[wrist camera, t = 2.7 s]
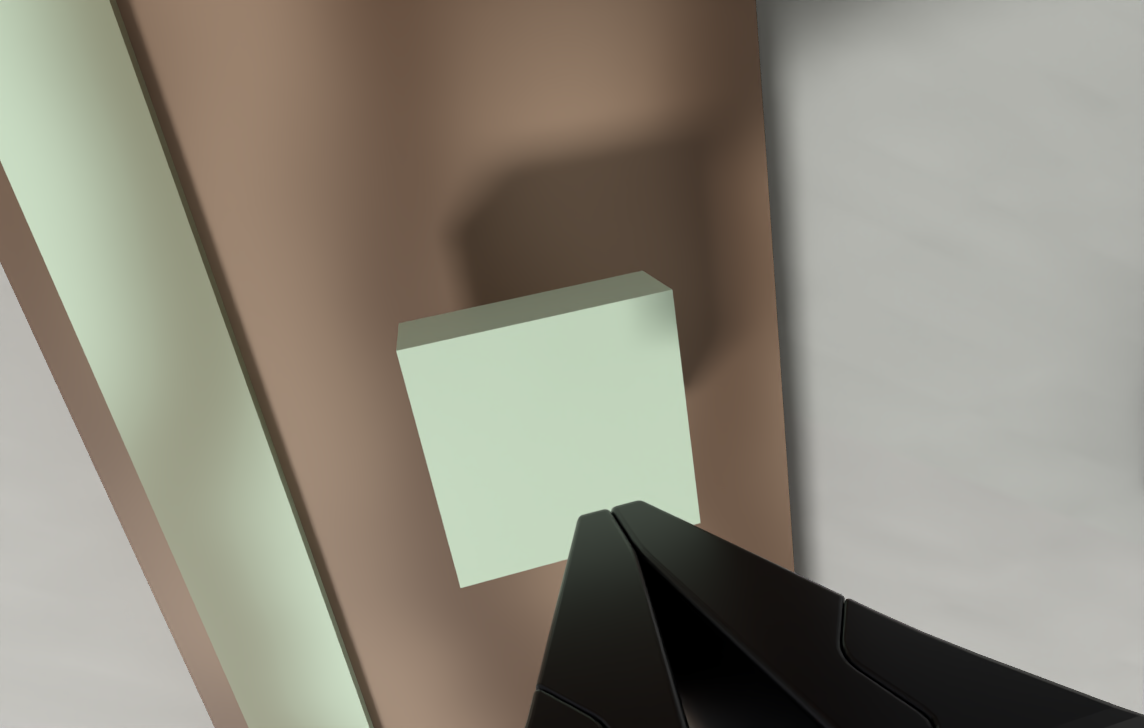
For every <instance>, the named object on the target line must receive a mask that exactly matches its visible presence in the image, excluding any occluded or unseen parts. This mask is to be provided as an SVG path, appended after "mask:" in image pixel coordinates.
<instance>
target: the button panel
mask: <svg viewBox="0 0 1144 728" xmlns="http://www.w3.org/2000/svg"><path fill="white" fill-rule="evenodd" d="M0 262H1V264H2V267H3V269H4V271H5V273H6V275H7V277H8V280H9V282H10V284H11V286H12V288H13V290H14V293H15V295H16V297H17V299H18V301H19V304H20V306H21V308H22V310H23V312H24V314H25V317H26V319H27V321H28V323H29V325H30V327H31V330H32V332H33V334H34V336H35V338H36V340H37V343H38V345H39V347H40V349H41V351H42V353H43V356H44V358H45V360H46V362H47V364H48V366H49V369H50V371H51V373H52V375H53V377H54V380H55V382H56V384H57V386H58V388H59V390H60V393H61V395H62V397H63V399H64V401H65V403H66V406H67V408H68V410H69V412H70V414H71V416H72V419H73V421H74V423H75V425H76V427H77V429H78V432H79V434H80V436H81V438H82V440H83V442H84V445H85V447H86V449H87V451H88V453H89V456H90V458H91V460H92V462H93V464H94V466H95V469H96V471H97V473H98V475H99V477H100V479H101V482H102V484H103V486H104V488H105V490H106V492H107V495H108V497H109V499H110V501H111V503H112V505H113V508H114V510H115V512H116V514H117V516H118V519H119V521H120V523H121V525H122V527H123V529H124V532H125V534H126V536H127V538H128V540H129V542H130V545H131V547H132V549H133V551H134V553H135V555H136V558H137V560H138V562H139V564H140V566H141V568H142V571H143V573H144V575H145V577H146V579H147V581H148V584H149V586H150V588H151V590H152V592H153V595H154V597H155V599H156V601H157V603H158V605H159V608H160V610H161V612H162V614H163V616H164V618H165V621H166V623H167V625H168V627H169V629H170V631H171V634H172V636H173V638H174V640H175V642H176V644H177V647H178V649H179V651H180V653H181V655H182V657H183V660H184V662H185V664H186V666H187V668H188V671H189V673H190V675H191V677H192V679H193V681H194V684H195V686H196V688H197V690H198V692H199V694H200V697H201V699H202V701H203V703H204V705H205V707H206V710H207V712H208V714H209V716H210V718H211V720H212V723H213V725H214V727H215V728H525V724H526V721H527V717H528V713H529V710H530V706H531V702H532V698H533V694H534V692H535V691H536V683H537V679H538V675H539V671H540V667H541V663H542V659H543V655H544V651H545V647H546V643H547V639H548V635H549V631H550V627H551V623H552V619H553V615H554V611H555V607H556V603H557V599H558V595H559V591H560V587H561V583H562V579H563V575H564V571H565V567H566V563H567V559H566V560H562V561H559V562H555V563H551V564H548V565H544V566H540V567H537V568H533V569H529V570H526V571H522V572H518V573H515V574H511V575H507V576H504V577H500V578H496V579H492V580H489V581H485V582H481V583H478V584H474V585H470V586H467V587H463V588H460V584H459V580H458V577H457V573H456V569H455V566H454V562H453V558H452V555H451V551H450V547H449V544H448V540H447V536H446V532H445V529H444V525H443V521H442V518H441V514H440V510H439V507H438V503H437V499H436V496H435V492H434V488H433V485H432V481H431V477H430V474H429V470H428V466H427V463H426V459H425V455H424V452H423V448H422V444H421V440H420V437H419V433H418V429H417V426H416V422H415V418H414V415H413V411H412V407H411V404H410V400H409V396H408V393H407V389H406V385H405V382H404V378H403V374H402V371H401V367H400V363H399V359H398V356H397V352H396V348H397V337H398V327H399V323H403V322H408V321H412V320H417V319H421V318H426V317H431V316H435V315H440V314H444V313H449V312H454V311H458V310H463V309H468V308H472V307H477V306H481V305H486V304H491V303H495V302H500V301H504V300H509V299H514V298H518V297H523V296H528V295H532V294H537V293H541V292H546V291H551V290H555V289H560V288H564V287H569V286H574V285H578V284H583V283H587V282H592V281H597V280H601V279H606V278H611V277H615V276H620V275H624V274H629V273H634V272H638V271H644V272H646V273H647V274H649V275H650V276H652V277H653V278H655V279H657V280H658V281H660V282H661V283H663V284H664V285H666V286H667V287H669V288H671V289H672V291H673V299H674V307H675V316H676V324H677V332H678V340H679V349H680V357H681V365H682V374H683V382H684V390H685V398H686V407H687V415H688V423H689V432H690V440H691V448H692V456H693V465H694V473H695V481H696V489H697V498H698V506H699V514H700V523H699V524H695V526H697V527H699V528H701V529H703V530H705V531H708V532H710V533H712V534H714V535H716V536H718V537H720V538H722V539H724V540H727V541H729V542H731V543H733V544H735V545H737V546H739V547H741V548H744V549H746V550H748V551H750V552H752V553H754V554H756V555H758V556H760V557H763V558H765V559H767V560H769V561H771V562H773V563H775V564H777V565H779V566H782V567H784V568H786V569H788V570H790V571H792V572H794V558H793V543H792V529H791V514H790V499H789V484H788V470H787V455H786V440H785V425H784V410H783V396H782V381H781V366H780V351H779V337H778V322H777V307H776V292H775V277H774V263H773V248H772V233H771V218H770V204H769V189H768V174H767V159H766V145H765V130H764V115H763V100H762V85H761V71H760V56H759V41H758V26H757V12H756V0H0Z"/></svg>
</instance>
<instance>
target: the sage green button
mask: <svg viewBox="0 0 1144 728" xmlns="http://www.w3.org/2000/svg"><path fill="white" fill-rule="evenodd" d="M396 352H397V356H398V359H399V363H400V367H401V371H402V374H403V378H404V382H405V385H406V389H407V393H408V396H409V400H410V404H411V407H412V411H413V415H414V418H415V422H416V426H417V429H418V433H419V437H420V440H421V444H422V448H423V452H424V455H425V459H426V463H427V466H428V470H429V474H430V477H431V481H432V485H433V488H434V492H435V496H436V499H437V503H438V507H439V510H440V514H441V518H442V521H443V525H444V529H445V532H446V536H447V540H448V544H449V547H450V551H451V555H452V558H453V562H454V566H455V569H456V573H457V577H458V580H459V584H460V588H463V587H467V586H470V585H474V584H478V583H481V582H485V581H489V580H492V579H496V578H500V577H504V576H507V575H511V574H515V573H518V572H522V571H526V570H529V569H533V568H537V567H540V566H544V565H548V564H551V563H555V562H559V561H562V560H566V559H568V555H569V551H570V547H571V543H572V539H573V535H574V531H575V527H576V523H577V520H578V518H579V517H580V516H581V515H583V514H587V513H591V512H595V511H599V510H602V509H607V510H609V511H610V512H611V510H612V508H613V507H615V506H618V505H621V504H625V503H629V502H633V501H637V500H641V501H644V502H646V503H648V504H651V505H653V506H655V507H657V508H659V509H661V510H663V511H665V512H667V513H670V514H672V515H674V516H676V517H678V518H680V519H682V520H684V521H686V522H689V523H691V524H693V525H695V524H699V523H700V514H699V506H698V498H697V489H696V481H695V473H694V465H693V456H692V448H691V440H690V432H689V423H688V415H687V407H686V398H685V390H684V382H683V374H682V365H681V357H680V349H679V340H678V332H677V324H676V316H675V307H674V299H673V291H672V289H671V288H669V287H667V286H666V285H664V284H663V283H661V282H660V281H658V280H657V279H655V278H653V277H652V276H650V275H649V274H647V273H646V272H644V271H638V272H634V273H629V274H624V275H620V276H615V277H611V278H606V279H601V280H597V281H592V282H587V283H583V284H578V285H574V286H569V287H564V288H560V289H555V290H551V291H546V292H541V293H537V294H532V295H528V296H523V297H518V298H514V299H509V300H504V301H500V302H495V303H491V304H486V305H481V306H477V307H472V308H468V309H463V310H458V311H454V312H449V313H444V314H440V315H435V316H431V317H426V318H421V319H417V320H412V321H408V322H403V323H399V327H398V337H397V348H396Z"/></svg>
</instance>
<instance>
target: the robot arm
mask: <svg viewBox="0 0 1144 728" xmlns="http://www.w3.org/2000/svg"><path fill="white" fill-rule="evenodd" d="M525 728H1144V715H1143V714H1140V713H1137V712H1134V711H1131V710H1128V709H1125V708H1122V707H1119V706H1116V705H1113V704H1111V703H1108V702H1105V701H1103V700H1100V699H1097V698H1095V697H1092V696H1089V695H1087V694H1084V693H1081V692H1079V691H1076V690H1073V689H1071V688H1068V687H1065V686H1063V685H1060V684H1057V683H1055V682H1052V681H1049V680H1047V679H1044V678H1041V677H1039V676H1036V675H1033V674H1031V673H1028V672H1025V671H1023V670H1020V669H1017V668H1015V667H1012V666H1009V665H1007V664H1004V663H1001V662H999V661H996V660H993V659H991V658H988V657H985V656H983V655H980V654H977V653H975V652H972V651H970V650H967V649H965V648H962V647H960V646H957V645H955V644H952V643H950V642H947V641H945V640H942V639H940V638H937V637H935V636H932V635H930V634H927V633H924V632H922V631H920V630H918V629H915V628H913V627H911V626H909V625H906V624H904V623H902V622H900V621H897V620H895V619H893V618H891V617H888V616H886V615H884V614H882V613H879V612H877V611H875V610H873V609H871V608H869V607H867V606H864V605H862V604H860V603H858V602H856V601H854V600H852V599H846V600H845V598H844V596H842V595H841V594H839V593H836V592H834V591H832V590H830V589H828V588H826V587H824V586H822V585H820V584H817V583H815V582H813V581H811V580H809V579H807V578H805V577H803V576H801V575H798V574H796V573H794V572H792V571H790V570H788V569H786V568H784V567H782V566H779V565H777V564H775V563H773V562H771V561H769V560H767V559H765V558H763V557H760V556H758V555H756V554H754V553H752V552H750V551H748V550H746V549H744V548H741V547H739V546H737V545H735V544H733V543H731V542H729V541H727V540H724V539H722V538H720V537H718V536H716V535H714V534H712V533H710V532H708V531H705V530H703V529H701V528H699V527H697V526H695V525H693V524H691V523H689V522H686V521H684V520H682V519H680V518H678V517H676V516H674V515H672V514H670V513H667V512H665V511H663V510H661V509H659V508H657V507H655V506H653V505H651V504H648V503H646V502H644V501H641V500H637V501H633V502H629V503H625V504H621V505H618V506H615V507H613V508H612V510H611V512H610V511H609V510H607V509H602V510H599V511H595V512H591V513H587V514H583V515H581V516H580V517H579V518H578V520H577V523H576V527H575V531H574V535H573V539H572V543H571V547H570V551H569V555H568V559H567V563H566V567H565V571H564V575H563V579H562V583H561V587H560V591H559V595H558V599H557V603H556V607H555V611H554V615H553V619H552V623H551V627H550V631H549V635H548V639H547V643H546V647H545V651H544V655H543V659H542V663H541V667H540V671H539V675H538V679H537V683H536V691H535V692H534V694H533V698H532V702H531V706H530V710H529V713H528V717H527V721H526V724H525Z"/></svg>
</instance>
